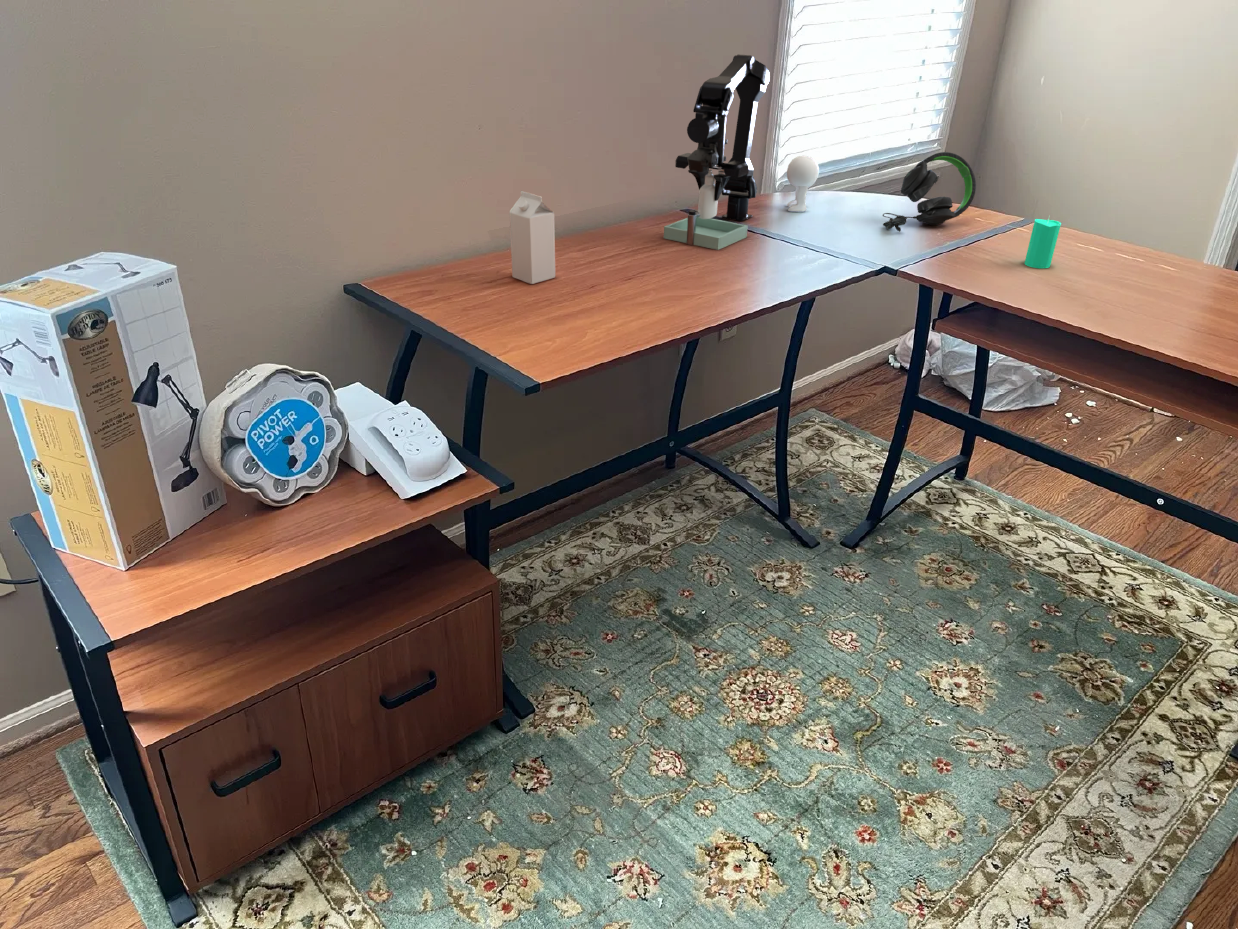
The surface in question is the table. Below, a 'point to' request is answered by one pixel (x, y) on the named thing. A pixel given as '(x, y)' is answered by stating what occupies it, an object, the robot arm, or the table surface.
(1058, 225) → the candle
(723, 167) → the robot arm
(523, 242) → the milk carton
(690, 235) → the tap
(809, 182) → the toy character
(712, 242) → the green tray
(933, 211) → the headset
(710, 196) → the eye dropper bottle
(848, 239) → the table surface
